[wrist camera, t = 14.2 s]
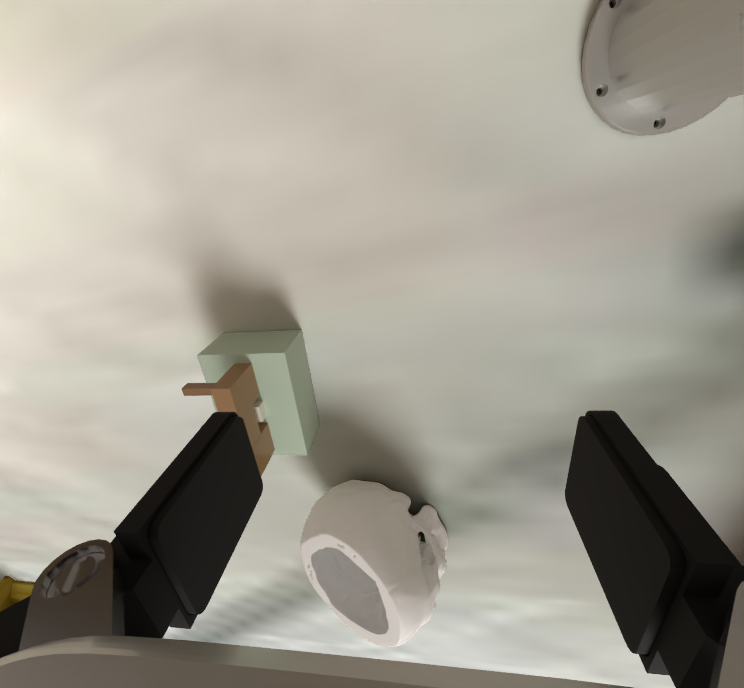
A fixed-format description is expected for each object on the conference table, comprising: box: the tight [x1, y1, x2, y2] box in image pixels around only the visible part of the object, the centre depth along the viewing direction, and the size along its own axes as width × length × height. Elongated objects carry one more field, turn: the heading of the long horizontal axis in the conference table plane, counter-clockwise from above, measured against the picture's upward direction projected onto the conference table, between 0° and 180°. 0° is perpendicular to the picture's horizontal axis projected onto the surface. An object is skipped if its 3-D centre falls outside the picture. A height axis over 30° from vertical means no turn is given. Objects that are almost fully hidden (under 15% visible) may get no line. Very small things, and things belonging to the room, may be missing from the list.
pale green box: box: [197, 330, 320, 455], centre depth 44 cm, size 14×10×7 cm
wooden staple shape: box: [182, 363, 275, 476], centre depth 40 cm, size 12×5×5 cm, turn 5°
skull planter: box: [301, 480, 448, 647], centre depth 50 cm, size 14×20×19 cm
